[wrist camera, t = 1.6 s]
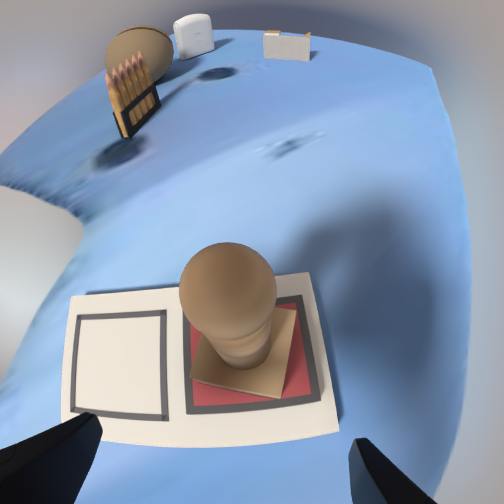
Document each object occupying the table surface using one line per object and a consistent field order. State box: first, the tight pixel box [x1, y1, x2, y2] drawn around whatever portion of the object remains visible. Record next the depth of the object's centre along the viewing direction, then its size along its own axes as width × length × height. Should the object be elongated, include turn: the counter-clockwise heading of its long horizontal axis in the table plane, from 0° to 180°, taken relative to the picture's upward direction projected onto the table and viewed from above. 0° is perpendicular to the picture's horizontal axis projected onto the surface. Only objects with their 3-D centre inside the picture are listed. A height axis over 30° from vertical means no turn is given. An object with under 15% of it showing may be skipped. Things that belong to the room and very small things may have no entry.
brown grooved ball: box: [105, 25, 174, 83], centre depth 47 cm, size 15×15×15 cm
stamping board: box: [61, 272, 339, 448], centre depth 20 cm, size 22×13×2 cm, turn 96°
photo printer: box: [173, 14, 214, 60], centre depth 58 cm, size 10×4×12 cm, turn 132°
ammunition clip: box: [106, 51, 161, 138], centre depth 38 cm, size 11×2×12 cm, turn 165°
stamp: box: [179, 242, 296, 400], centre depth 14 cm, size 6×6×12 cm
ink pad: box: [182, 295, 321, 415], centre depth 19 cm, size 9×8×1 cm
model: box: [263, 31, 310, 61], centre depth 54 cm, size 3×11×8 cm, turn 78°
